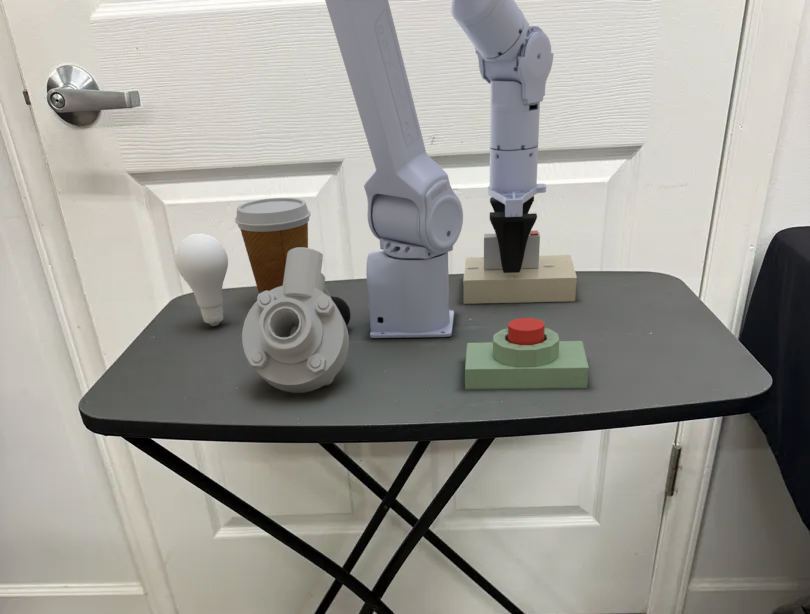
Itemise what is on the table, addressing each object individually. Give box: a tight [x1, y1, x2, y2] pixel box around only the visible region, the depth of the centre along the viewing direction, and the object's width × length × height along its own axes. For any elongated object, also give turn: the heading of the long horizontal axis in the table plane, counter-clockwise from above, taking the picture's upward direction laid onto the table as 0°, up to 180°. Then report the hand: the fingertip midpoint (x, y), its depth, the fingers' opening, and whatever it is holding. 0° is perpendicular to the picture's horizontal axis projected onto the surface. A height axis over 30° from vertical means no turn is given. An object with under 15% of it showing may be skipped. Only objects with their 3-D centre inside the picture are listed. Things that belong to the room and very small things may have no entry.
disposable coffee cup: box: [234, 197, 311, 294], centre depth 100 cm, size 10×10×12 cm
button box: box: [464, 327, 590, 390], centre depth 78 cm, size 12×7×4 cm, turn 85°
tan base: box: [462, 254, 578, 305], centre depth 101 cm, size 14×11×3 cm
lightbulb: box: [174, 232, 229, 327], centre depth 94 cm, size 6×6×11 cm
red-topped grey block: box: [483, 230, 541, 270], centre depth 99 cm, size 7×2×4 cm, turn 85°
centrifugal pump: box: [241, 247, 351, 394], centre depth 83 cm, size 10×20×15 cm
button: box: [507, 317, 546, 345], centre depth 77 cm, size 4×4×2 cm
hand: (511, 263), depth 100 cm, fingers open, 7 cm apart
